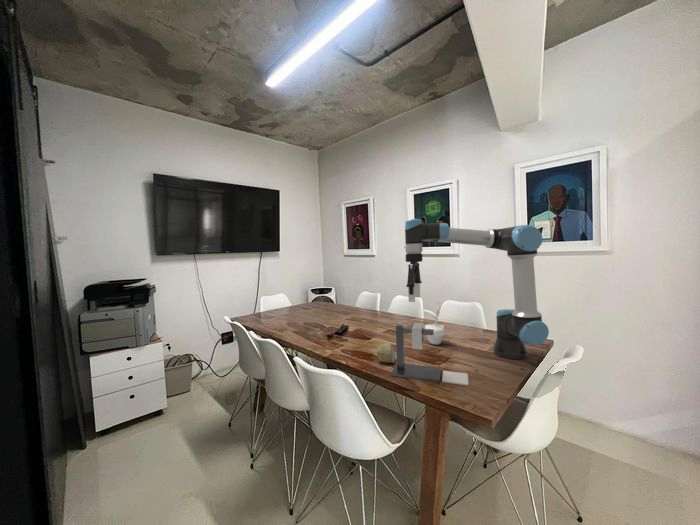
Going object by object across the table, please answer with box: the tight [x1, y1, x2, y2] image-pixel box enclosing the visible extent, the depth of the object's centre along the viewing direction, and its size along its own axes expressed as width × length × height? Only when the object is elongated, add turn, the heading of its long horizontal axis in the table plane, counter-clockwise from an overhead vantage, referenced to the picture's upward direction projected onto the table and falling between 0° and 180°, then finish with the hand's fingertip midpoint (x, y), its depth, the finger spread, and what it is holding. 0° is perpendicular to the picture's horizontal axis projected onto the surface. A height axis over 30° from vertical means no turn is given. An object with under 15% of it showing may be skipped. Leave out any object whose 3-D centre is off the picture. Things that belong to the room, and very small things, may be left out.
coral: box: [376, 342, 396, 364], centre depth 135 cm, size 10×10×10 cm
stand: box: [391, 323, 442, 383], centre depth 120 cm, size 20×12×21 cm, turn 68°
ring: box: [411, 322, 425, 351], centre depth 120 cm, size 4×9×9 cm, turn 158°
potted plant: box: [421, 301, 446, 345], centre depth 160 cm, size 13×12×25 cm
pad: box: [441, 370, 469, 386], centre depth 115 cm, size 10×10×1 cm
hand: (414, 299), depth 125 cm, fingers open, 13 cm apart
